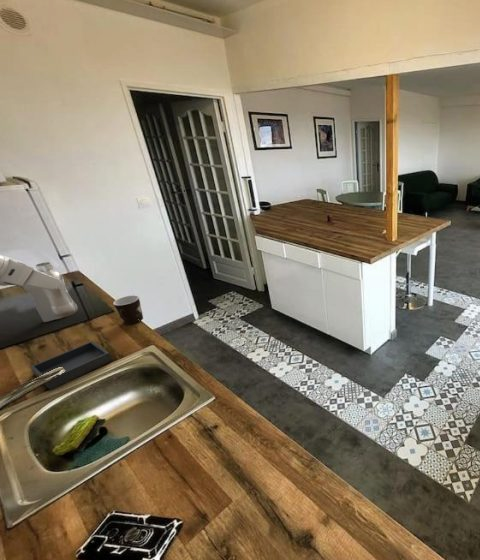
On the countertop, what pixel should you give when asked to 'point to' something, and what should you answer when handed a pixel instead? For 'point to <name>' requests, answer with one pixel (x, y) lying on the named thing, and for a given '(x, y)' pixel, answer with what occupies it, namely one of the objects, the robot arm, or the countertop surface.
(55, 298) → the plastic bottle
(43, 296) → the grey tall flat block
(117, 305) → the coffee mug
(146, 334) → the countertop surface
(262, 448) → the countertop surface
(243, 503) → the countertop surface
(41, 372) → the dark blue tray
